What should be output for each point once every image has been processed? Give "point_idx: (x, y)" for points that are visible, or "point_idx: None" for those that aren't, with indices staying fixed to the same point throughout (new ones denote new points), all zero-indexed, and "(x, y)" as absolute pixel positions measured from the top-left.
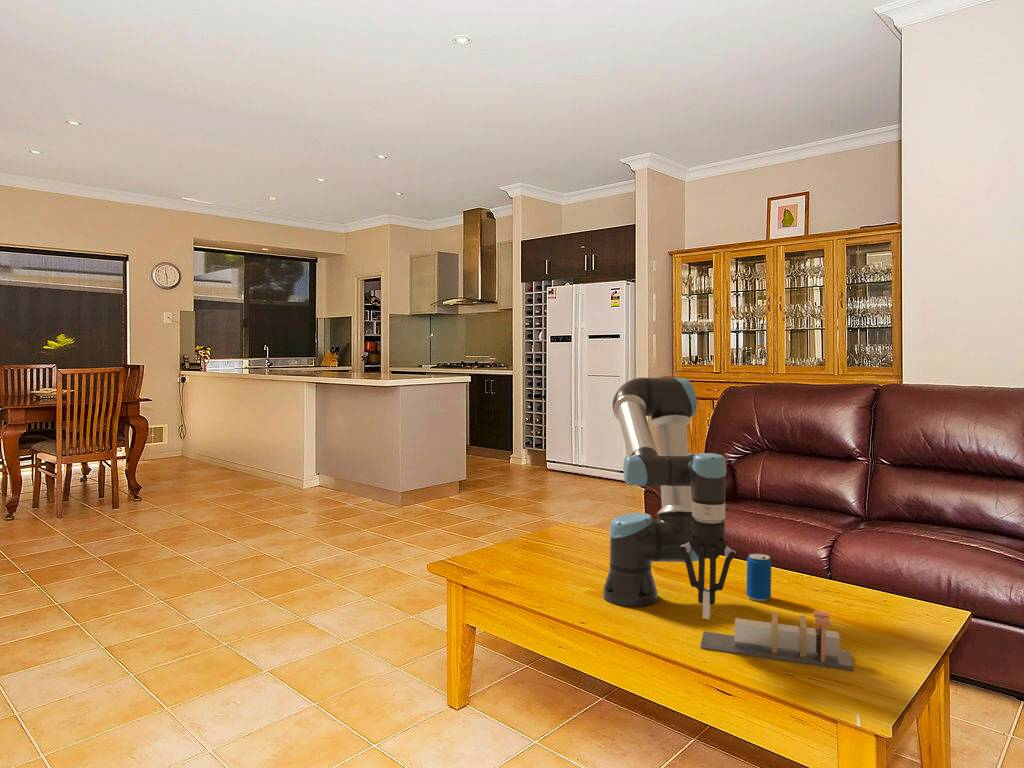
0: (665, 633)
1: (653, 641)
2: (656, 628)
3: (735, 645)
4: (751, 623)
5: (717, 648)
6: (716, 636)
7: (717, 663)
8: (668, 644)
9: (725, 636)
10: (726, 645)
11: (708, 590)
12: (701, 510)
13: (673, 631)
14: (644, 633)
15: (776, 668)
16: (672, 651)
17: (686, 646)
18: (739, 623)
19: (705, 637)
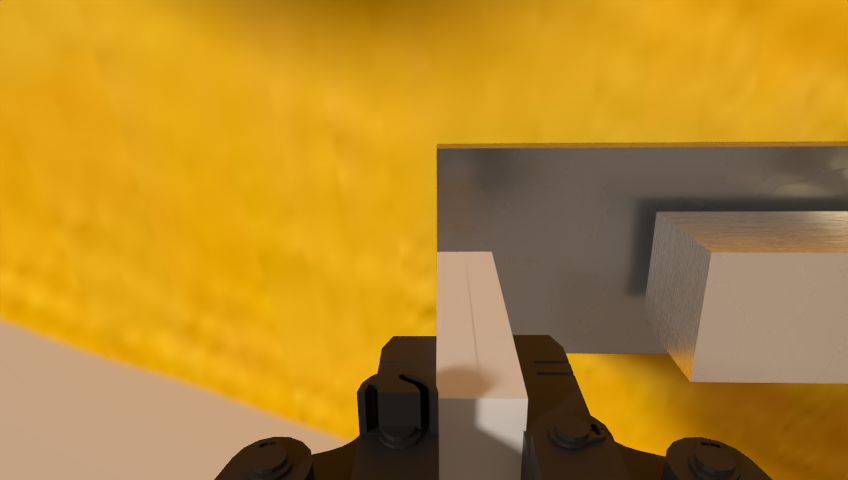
0: (204, 201)
1: (177, 338)
2: (127, 139)
3: (640, 304)
4: (832, 324)
5: None
6: (524, 208)
7: None
8: (263, 348)
9: (583, 187)
10: (586, 321)
11: (502, 472)
12: None
13: (241, 148)
14: (91, 247)
15: (823, 439)
16: (304, 422)
17: (360, 340)
18: (730, 354)
19: (456, 249)
